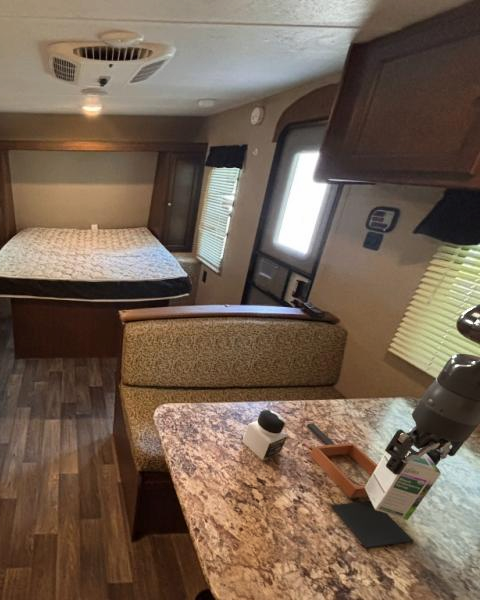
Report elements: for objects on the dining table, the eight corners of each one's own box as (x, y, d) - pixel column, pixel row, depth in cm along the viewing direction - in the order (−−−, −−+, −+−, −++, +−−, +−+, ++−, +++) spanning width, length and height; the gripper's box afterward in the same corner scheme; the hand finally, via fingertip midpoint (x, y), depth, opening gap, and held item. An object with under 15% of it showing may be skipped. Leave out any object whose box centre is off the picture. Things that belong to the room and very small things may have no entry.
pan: (324, 429, 98) (328, 421, 97) (392, 493, 80) (399, 484, 78) (288, 432, 96) (292, 424, 95) (349, 498, 78) (355, 489, 76)
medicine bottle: (262, 461, 86) (276, 429, 81) (241, 441, 92) (252, 410, 87) (280, 453, 89) (294, 421, 84) (258, 434, 95) (270, 404, 90)
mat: (372, 501, 77) (373, 500, 77) (412, 541, 69) (413, 540, 69) (330, 506, 76) (331, 505, 76) (366, 548, 68) (367, 547, 67)
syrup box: (374, 510, 68) (406, 463, 62) (363, 486, 73) (391, 441, 67) (407, 521, 66) (443, 474, 60) (393, 495, 71) (425, 450, 65)
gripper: (442, 426, 54) (398, 489, 61) (508, 421, 56) (458, 482, 63) (397, 396, 61) (361, 456, 67) (457, 392, 63) (416, 450, 69)
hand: (408, 468), depth 65 cm, fingers closed on syrup box, 7 cm apart
